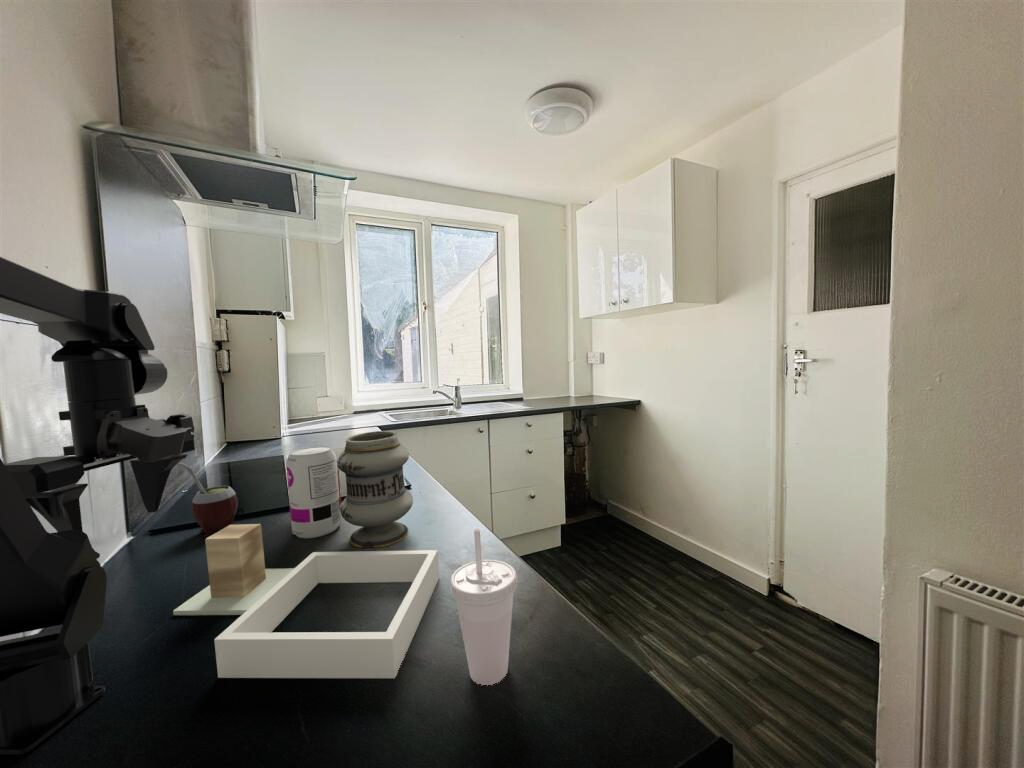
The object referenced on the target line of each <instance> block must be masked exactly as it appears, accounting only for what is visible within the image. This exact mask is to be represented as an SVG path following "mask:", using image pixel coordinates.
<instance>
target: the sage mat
mask: <svg viewBox="0 0 1024 768" xmlns="http://www.w3.org/2000/svg"><path fill="white" fill-rule="evenodd" d="M295 568H296V567H293V568H290V567H289V568H265V573H266V579H265V580H264V581H263V582H262V583H260V584H259V585H258V586H257V587H256V588H254V589H253V590H252V591H251V592H250V593H249V594H247V595H246V596H245V597H230V598H211V591H210V584H209V585H208V586H206V587H204V588H203V589H201V590H200V591H199V592H198V593H196V594H195V595H193V596H192V597H190V598H189V599H187V600H186V601H185V602H183V603H182V604H181V605H179V606H177V607H176V608H175V609H173V616H238V615H239V616H241V615H243V614H244V613H245V612H246V611H247V610H248V609H249V608H250V607H252V606H253V605H254V604H255V603H256V602H257V601H258V600H259V599H261V598H262V597H263V596H264V595H265V594H266V593H267V592H269V591H270V590H271V589H272V588H273V587H274V586H275V585H276V584H278V583H279V582H280V581H281V580H282V579H283V578H284V577H286V576H287V575H288V574H289V573H290V572H291V571H292V570H293V569H295Z"/></svg>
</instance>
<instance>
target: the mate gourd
mask: <svg viewBox="0 0 1024 768" xmlns="http://www.w3.org/2000/svg"><path fill="white" fill-rule="evenodd" d="M177 465H178V466H180V467H182V468H184V469H185V470H186V471H187V473H188V474H189V475H190V476H191V477H192V479H193V481H194V482H195V484H196V486H197V487H198V489H199V491H197V492H196V494H195V495H194V497H193V498H192V501H191V502H192V503H191V511H192V516H193V518H194V520H195V522H196V523H197V525H199V526H200V527H201V529H200V533H201V532H205V534H204V535H203V536H202V537H203V539H204V538H208V537H210V536H211V535H213V534H215V533H217V532H218V531H220V530H222V529H224V528H225V527H227V526H229V525H234V521H235V515H236V513H237V511H238V507H239V501H238V500H239V499H238V496H237V492H235V490H234V489H233V488H232V487H231V486H229V485H219V486H218V485H217V486H212V487H207V488H204V487H203V485H202V484H201V482H200V480H199V479H198V476H197V475H196V474H195V470H194V469H193V468H192V467H191V466H189V465H187V464H185V463H183V462H181V461H180V462H179V463H178V464H177Z"/></svg>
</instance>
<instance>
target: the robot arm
mask: <svg viewBox="0 0 1024 768" xmlns="http://www.w3.org/2000/svg"><path fill="white" fill-rule="evenodd" d="M0 314H2V315H6V316H9V317H13V318H16V319H21V320H24V321H28V322H32V323H33V324H36V325H37V329H38V331H37V332H39V333H40V334H42V335H44V336H46V337H48V338H50V339H53V340H54V341H56V342H58V343H59V344H60V345H61V348H60V349H58V350H56V351H55V352H54V353H53V354H52V355H51V356H50V357H51V361H52V362H54V363H62V364H63V371H64V372H63V373H64V379H65V380H64V381H65V390H66V395H67V396H66V399H67V405H68V410H61V411H58V419H59V421H70V430H71V439H72V445H66V446H63V447H62V450H63V455H64V456H63V455H61V456H59V455H58V456H39V457H38V456H36V457H32V458H26V459H22V460H21V459H20V460H18V461H17V460H16V461H12V462H8V463H4V462H3V461H2V458H0V638H2V637H8V636H12V635H16V634H22V633H26V632H27V633H28V632H32V631H36V630H42V629H47V628H52V627H57V626H61V628H60V629H55V630H50V631H45V632H41V633H35V634H29V635H25V636H20V637H16V638H11V639H10V638H9V639H6V640H2V641H0V755H18V756H19V755H23V754H26V753H29V752H31V750H33V749H35V748H36V747H37V746H38V745H40V744H41V743H42V742H43V741H45V739H47V738H49V737H50V736H51V735H52V734H53V733H55V732H56V731H57V730H59V729H60V728H61V727H62V726H64V725H65V724H66V723H68V722H69V721H70V720H71V719H73V718H75V716H77V715H78V714H79V713H80V712H82V711H83V710H84V709H85V708H87V707H88V706H89V705H91V704H92V703H94V702H95V701H96V700H97V699H98V698H100V697H101V696H103V694H105V692H106V686H105V685H91V684H92V683H93V681H94V679H93V677H94V676H93V670H92V668H93V667H92V660H91V653H90V644H89V641H91V639H93V637H94V636H95V635H97V633H98V632H99V631H101V630H102V628H103V627H104V617H105V615H104V614H105V605H106V594H107V593H106V592H107V585H108V584H107V582H108V581H107V580H108V578H107V573H106V570H105V569H104V567H102V566H101V564H100V561H99V560H98V559H100V557H101V553H99V552H97V551H96V550H95V549H94V548H93V546H92V544H91V541H90V539H89V536H88V534H87V533H86V532H84V531H83V522H82V512H81V505H80V497H81V496H82V494H83V493H84V492H85V490H86V488H87V487H88V485H89V483H79V482H80V480H81V479H82V478H83V476H84V475H85V474H86V473H85V472H87V471H91V470H95V469H98V468H102V467H107V466H111V465H115V464H119V463H122V462H126V461H129V463H130V465H131V469H132V471H133V474H134V477H135V481H136V484H137V487H138V491H139V494H140V497H141V500H142V503H143V505H144V508H145V509H146V512H147V513H148V514H149V513H150V514H152V513H156V512H158V511H159V507H160V505H161V501H162V499H163V494H164V491H165V488H166V485H167V482H168V479H169V477H170V474H171V472H172V470H173V468H174V467H175V466H177V465H178V463H179V462H180V463H181V461H183V460H184V459H186V458H187V457H188V452H192V451H195V440H194V439H195V434H194V433H195V425H194V420H193V417H192V415H189V414H186V413H177V414H171V415H169V416H168V417H167V418H166V419H165V418H160V419H155V418H151V417H150V415H149V409H148V408H147V407H146V404H137V403H136V396H137V395H143V394H149V393H153V392H156V391H157V390H159V389H161V388H162V387H163V386H164V384H165V383H166V382H167V379H168V368H167V367H166V366H165V363H164V362H163V361H162V360H161V359H159V357H156V356H155V355H152V354H149V351H154V350H155V345H154V342H153V340H152V338H151V336H150V333H149V331H148V330H147V329H148V328H147V327H146V325H145V323H144V321H143V318H142V316H141V313H140V312H139V309H138V308H137V306H136V305H135V304H134V303H132V302H131V300H130V299H129V298H128V297H126V296H125V294H122V293H118V292H111V291H106V290H105V291H104V290H93V289H83V288H82V289H81V288H76V287H73V286H71V285H68V284H66V283H63V282H61V281H59V280H57V279H54V278H52V277H49V276H47V275H45V274H42V273H40V272H37V271H35V270H32V269H30V268H28V267H25V266H23V265H21V264H19V263H17V262H14V261H11V260H9V259H7V258H4V257H2V256H0ZM35 511H36V512H37V513H38V514H39V515H40V516H41V517H43V518H44V519H45V520H46V522H47V523H48V524H49V525H50V526H51V527H53V529H54V530H56V532H48V531H47V530H46V528H45V527H44V525H43V523H42V522H41V520H40V519H39V517H38V516H37V514H36V512H35Z"/></svg>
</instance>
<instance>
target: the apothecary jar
mask: <svg viewBox="0 0 1024 768" xmlns="http://www.w3.org/2000/svg"><path fill="white" fill-rule="evenodd" d="M409 456H410V454H409V451H408V448H407V447H406V446H404V445H403V444H402V443H400V441H399V439H398V433H397V432H396V431H392V430H378V431H377V430H376V431H368V432H362V433H358V434H354V435H350V436H348V437H347V438H346V440H345V446H344V450H342V451H341V453H339V455H338V457H337V465H338V468H339V471H340V472H342V473H344V474H345V483H346V497H345V498H344V499H343V501H341V506H340V513H341V518H342V519H343V520H344V521H345V522H347V523H349V524H350V525H354V526H356V527H360V528H358V529H356V530H355V531H353V533H351V535H350V536H349V541H348V542H349V543H350V544H351V545H352V547H355V548H359V549H365V548H373V549H377V548H378V549H379V548H384V547H388V546H391V545H393V544H396V543H399V542H401V541H402V540H403V539H405V538H406V537H407V536H408V534H409V528H408V526H407V525H406V524H405V523H402V522H398V520H400V519H402V518H403V517H404V516H405V515H407V514H408V513H409V511H410V510H411V509H412V506H413V504H414V498H413V495H412V493H411V492H410V490H408V488H405V487H406V486H405V478H404V477H405V476H404V467H403V466H404V465H405V464H406V463H407V462H408V460H409V458H410V457H409Z"/></svg>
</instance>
